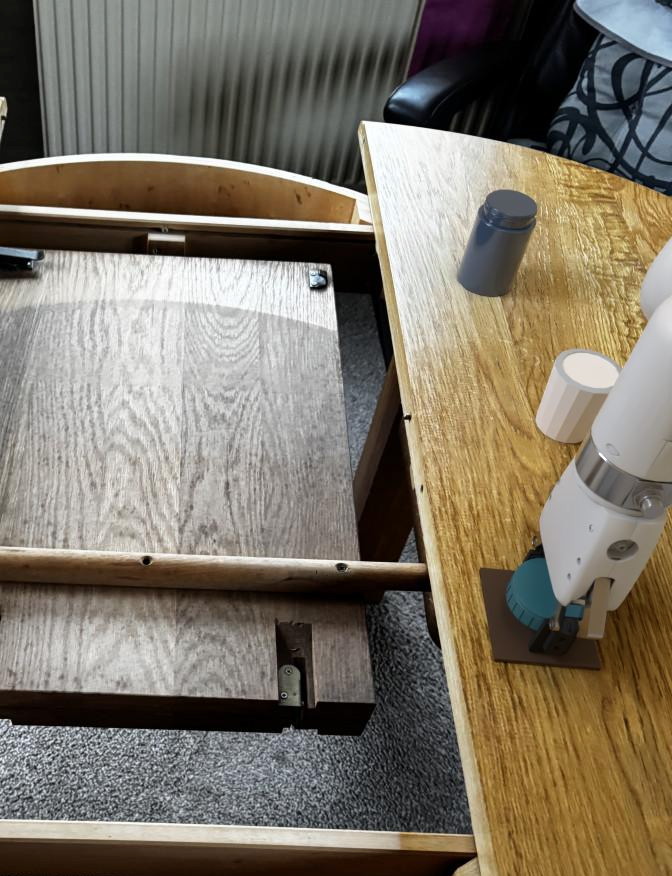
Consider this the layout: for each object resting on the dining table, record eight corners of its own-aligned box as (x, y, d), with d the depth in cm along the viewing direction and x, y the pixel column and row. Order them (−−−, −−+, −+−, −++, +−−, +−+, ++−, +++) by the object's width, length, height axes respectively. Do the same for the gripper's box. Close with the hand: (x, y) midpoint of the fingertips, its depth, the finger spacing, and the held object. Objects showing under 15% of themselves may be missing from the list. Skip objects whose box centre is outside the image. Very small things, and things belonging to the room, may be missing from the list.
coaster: (577, 578, 84) (579, 575, 83) (599, 670, 78) (601, 667, 78) (478, 570, 83) (480, 567, 83) (493, 661, 78) (495, 658, 77)
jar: (507, 266, 113) (536, 189, 105) (515, 299, 109) (546, 221, 101) (453, 261, 112) (479, 184, 105) (460, 293, 109) (486, 215, 101)
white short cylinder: (531, 442, 94) (558, 386, 88) (526, 398, 98) (552, 342, 92) (599, 452, 94) (630, 397, 88) (591, 407, 98) (621, 352, 92)
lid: (579, 573, 81) (587, 559, 79) (595, 638, 77) (604, 625, 75) (499, 568, 81) (506, 553, 79) (511, 632, 77) (519, 618, 75)
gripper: (718, 561, 61) (601, 704, 75) (655, 389, 71) (563, 545, 85) (605, 551, 61) (510, 696, 75) (558, 380, 71) (482, 537, 85)
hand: (539, 614), depth 80 cm, fingers closed on lid, 6 cm apart
